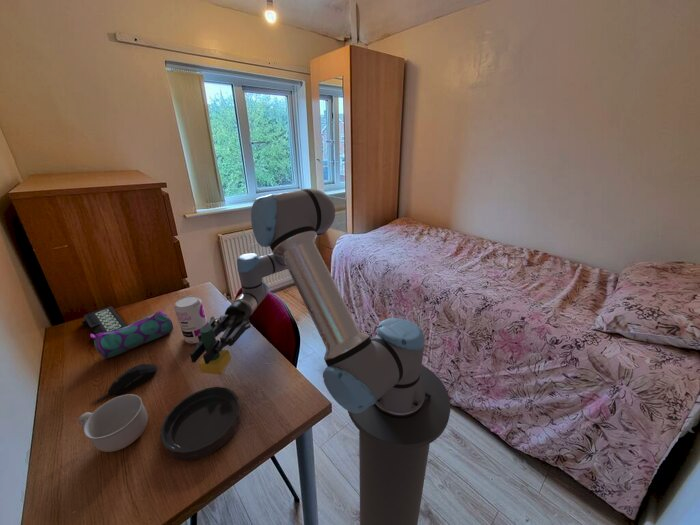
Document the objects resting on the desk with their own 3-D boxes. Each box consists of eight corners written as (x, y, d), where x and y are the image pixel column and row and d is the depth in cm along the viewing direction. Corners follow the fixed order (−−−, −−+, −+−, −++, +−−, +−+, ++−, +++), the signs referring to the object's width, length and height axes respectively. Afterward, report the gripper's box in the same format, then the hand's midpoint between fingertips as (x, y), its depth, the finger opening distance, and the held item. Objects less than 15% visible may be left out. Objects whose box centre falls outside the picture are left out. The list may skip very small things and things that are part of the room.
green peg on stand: (231, 359, 87) (221, 323, 81) (220, 374, 81) (209, 337, 76) (212, 357, 87) (202, 321, 82) (201, 372, 82) (189, 335, 76)
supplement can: (211, 327, 106) (201, 292, 100) (209, 341, 99) (199, 304, 93) (186, 332, 104) (175, 297, 97) (183, 347, 97) (171, 310, 90)
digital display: (78, 315, 109) (110, 305, 116) (81, 322, 110) (113, 311, 117) (91, 338, 97) (126, 324, 104) (95, 346, 98) (129, 332, 105)
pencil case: (167, 324, 108) (160, 303, 104) (176, 334, 103) (169, 312, 99) (99, 354, 94) (87, 330, 90) (105, 367, 89) (92, 343, 85)
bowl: (253, 399, 77) (251, 390, 75) (217, 467, 61) (214, 457, 60) (195, 393, 79) (192, 384, 78) (147, 456, 64) (141, 446, 62)
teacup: (162, 420, 72) (152, 397, 69) (123, 464, 62) (110, 441, 59) (117, 410, 75) (105, 388, 71) (73, 452, 65) (57, 429, 62)
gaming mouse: (93, 396, 79) (88, 385, 77) (152, 364, 90) (148, 354, 88) (100, 408, 75) (94, 397, 74) (161, 373, 86) (157, 363, 84)
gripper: (265, 320, 98) (229, 372, 77) (221, 317, 100) (175, 367, 79) (262, 301, 95) (224, 351, 73) (217, 298, 97) (167, 345, 76)
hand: (198, 359), depth 76 cm, fingers closed on green peg on stand, 3 cm apart
